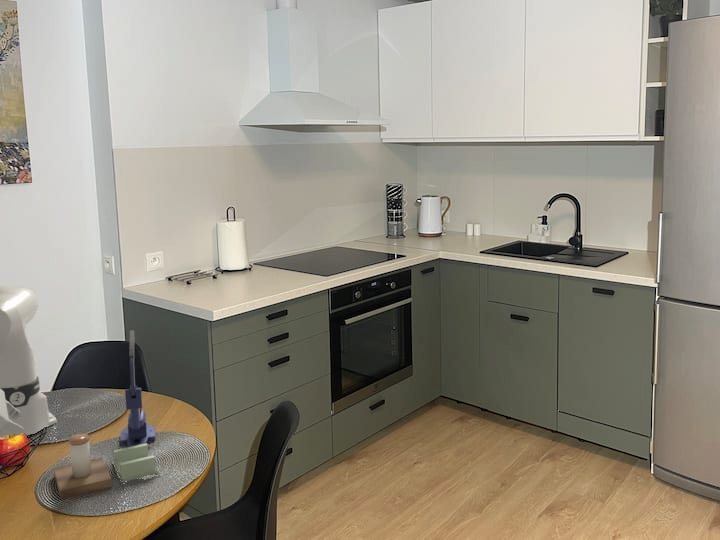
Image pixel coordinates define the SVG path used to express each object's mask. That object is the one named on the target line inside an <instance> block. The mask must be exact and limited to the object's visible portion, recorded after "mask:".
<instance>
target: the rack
mask: <svg viewBox="0 0 720 540" xmlns="http://www.w3.org/2000/svg"><path fill="white" fill-rule="evenodd" d="M148 455H149V444H148V445H147V443H145V444H141V445H136V446H132V447H128V446H126V447H123V448H119V449H118V448H117V449H114V450H113V461H114V465H115V467H116V469H117V471H118V474H119V476H120V478H121V480H122V482H125V481H129V480H133V479H137V478H141V477H144V476H147V475H153V474H157V471H158V469H157V468H156V467H157V466H156V465H157V464H156V456H155V455H149V456H148ZM156 469H157V470H156Z"/></svg>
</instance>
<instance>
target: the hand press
mask: <svg viewBox="0 0 720 540" xmlns="http://www.w3.org/2000/svg"><path fill="white" fill-rule="evenodd" d="M135 335H136V334H135V330H129V349H128V351H129V352H128V353H129V355H128V356H129V373H130V375H129V376H130V377H129V378H130V379H129V380H130V386H129V388H125V389H124V390H125V391H124V395H125V406H126V410H129V411H130V412H129V413H128V416H127V426H126V427H125V428H123V430H121V432H120V445H121V446H124V445H127V447H132V446H136V445H141V444H145V443H147V445H148V446H149V445H151V442H154V441H156V429H155V426H153V425H152V424H149V423H147V414H146V412H145V411H143V410H142V408H143V396H142V393H143V391H142V387H138V386H137V385H136V380H135V379H136V378H135V377H136V375H135ZM148 441H149V442H148ZM123 444H124V445H123Z"/></svg>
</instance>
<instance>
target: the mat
mask: <svg viewBox="0 0 720 540" xmlns="http://www.w3.org/2000/svg"><path fill="white" fill-rule="evenodd" d="M156 470H157V474H155V475H158V476H154V477H152V478H151V479H149V478H148V479H146V480H144V479H142V478H141V479H139V478H138V479H133V480H129V481H127V482H121V481H122V480H121V479H120V478H119V479H118V481H119V483H120V486H121V487H122V488H123V487H126V486H131V485H135V484H137V483H138V484H139V483H142V482H145V481H146V482H147V481H150V480H154V479H159V478H161V477H162V476H161V474H160V473H159V471H158V469H157V468H156ZM120 480H121V481H120ZM123 483H125V484H123Z"/></svg>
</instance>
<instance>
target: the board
mask: <svg viewBox="0 0 720 540" xmlns="http://www.w3.org/2000/svg"><path fill="white" fill-rule="evenodd" d="M91 469H92V473H91V474H90V475H88V476H86V477H82V478H75V477H73V475H72V465H71V463H70V464H67V465H63V466H59V467H53V475H54V480H55V483H56V486H57V490H58V495H59V497H60V500H61V501H62V500H66V499H69V498H70V499H71V498H74V497H77V496H82V495H86V494H90V493H94V492H98V491H102V490H106V489H110V488H113V481H112V480H113V479H112V475H111V474H110V472H109V470H108V467H107V465H106V463H105V461H104V459H103V457H98V458H91Z"/></svg>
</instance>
